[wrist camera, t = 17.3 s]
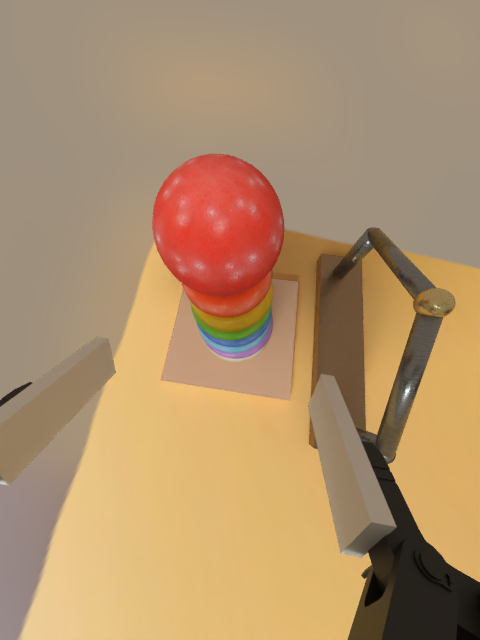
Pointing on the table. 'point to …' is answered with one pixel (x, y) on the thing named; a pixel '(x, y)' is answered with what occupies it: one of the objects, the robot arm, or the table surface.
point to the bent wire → (347, 335)
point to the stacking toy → (222, 249)
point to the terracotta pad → (244, 377)
